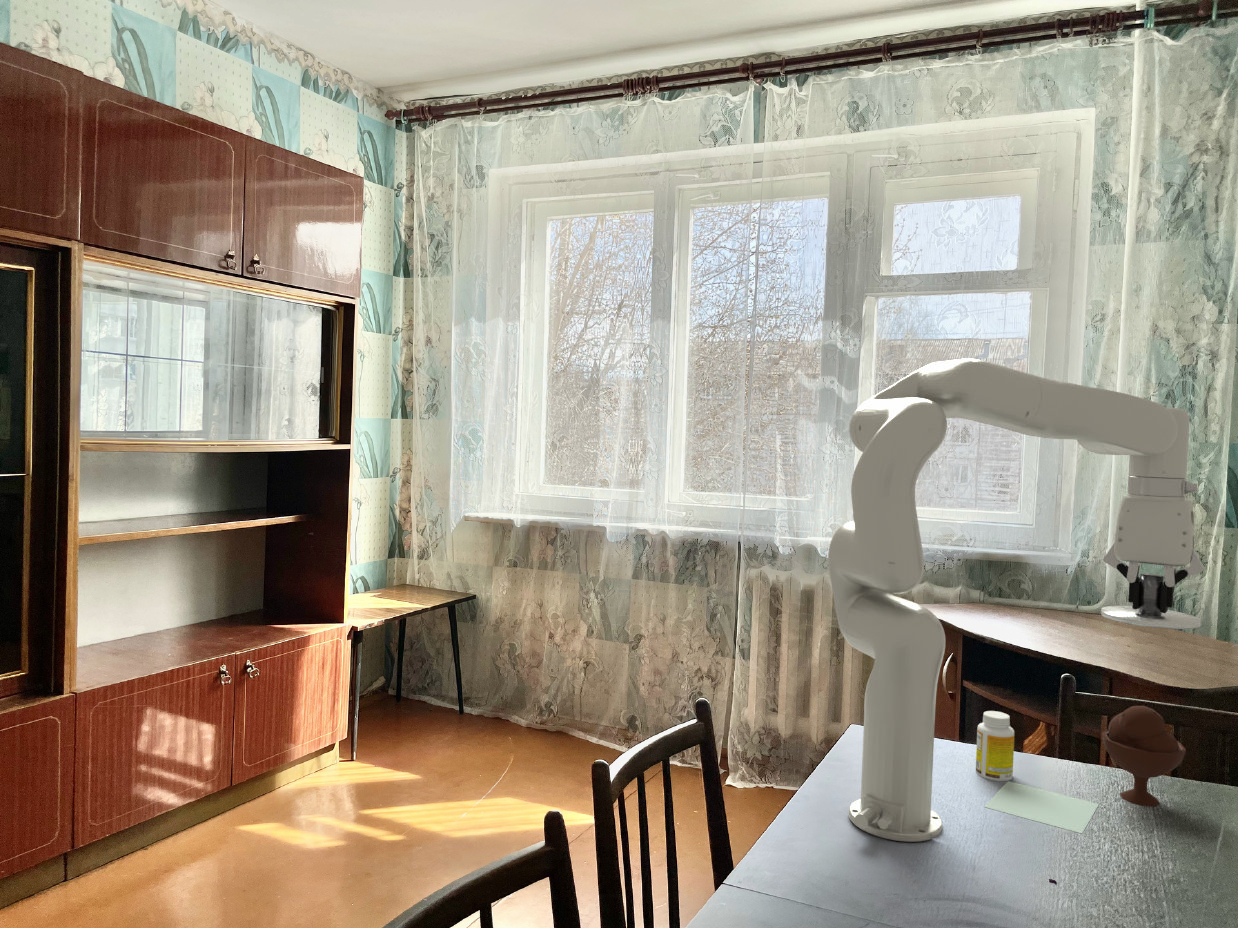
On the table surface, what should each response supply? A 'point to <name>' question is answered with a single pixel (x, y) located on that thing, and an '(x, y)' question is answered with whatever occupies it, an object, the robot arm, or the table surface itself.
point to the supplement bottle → (995, 747)
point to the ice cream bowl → (1142, 750)
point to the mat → (1043, 806)
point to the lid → (1151, 609)
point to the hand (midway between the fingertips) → (1150, 608)
